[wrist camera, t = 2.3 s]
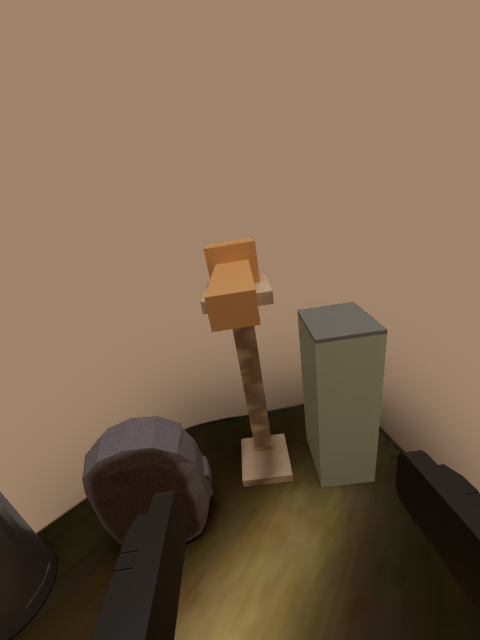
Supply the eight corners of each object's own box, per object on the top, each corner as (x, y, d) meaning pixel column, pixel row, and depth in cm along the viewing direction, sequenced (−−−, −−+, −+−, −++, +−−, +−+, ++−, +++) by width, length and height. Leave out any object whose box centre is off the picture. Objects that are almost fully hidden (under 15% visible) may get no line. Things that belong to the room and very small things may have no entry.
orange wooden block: (200, 333, 21) (185, 274, 19) (214, 281, 36) (207, 244, 34) (272, 322, 21) (265, 261, 19) (257, 274, 35) (252, 236, 33)
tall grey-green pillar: (321, 487, 39) (315, 340, 29) (306, 438, 48) (297, 310, 37) (374, 481, 39) (387, 329, 28) (350, 433, 47) (353, 301, 37)
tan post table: (243, 487, 41) (200, 302, 28) (242, 444, 49) (207, 282, 36) (293, 481, 41) (272, 290, 28) (284, 439, 48) (264, 273, 35)
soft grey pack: (113, 569, 34) (43, 468, 26) (127, 504, 42) (76, 411, 34) (224, 535, 36) (190, 430, 28) (218, 479, 43) (190, 383, 35)
